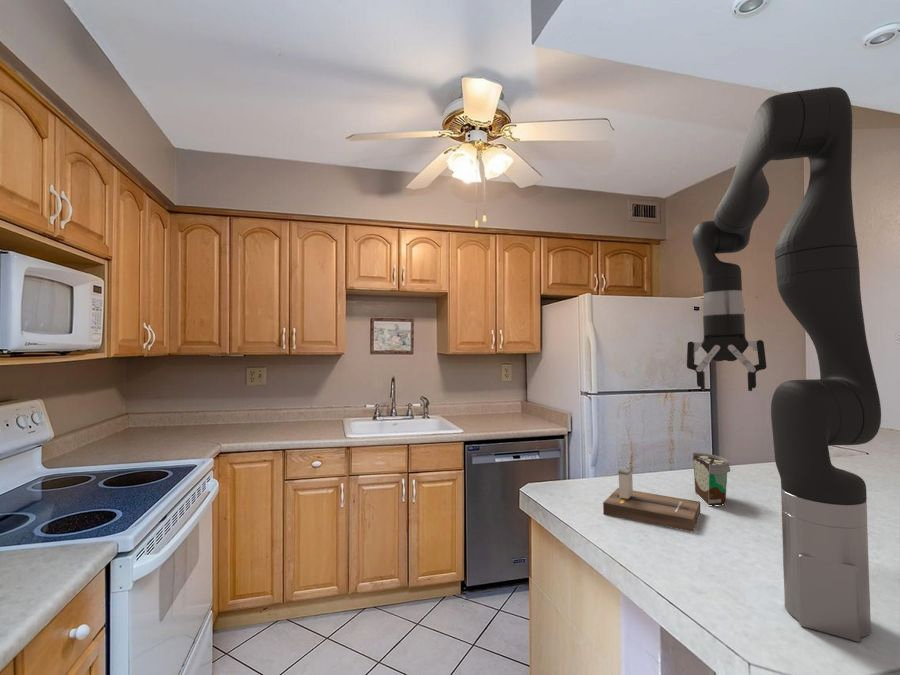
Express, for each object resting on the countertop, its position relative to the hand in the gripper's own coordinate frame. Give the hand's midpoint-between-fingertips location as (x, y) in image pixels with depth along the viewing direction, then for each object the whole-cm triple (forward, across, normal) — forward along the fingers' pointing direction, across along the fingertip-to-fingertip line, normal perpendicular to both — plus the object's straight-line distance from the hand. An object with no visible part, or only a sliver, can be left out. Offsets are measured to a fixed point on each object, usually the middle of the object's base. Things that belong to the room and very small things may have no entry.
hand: (726, 389), depth 94 cm
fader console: (+28, -15, -2) cm, 32 cm away
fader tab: (+25, -21, -2) cm, 33 cm away
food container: (+28, -4, +15) cm, 32 cm away
